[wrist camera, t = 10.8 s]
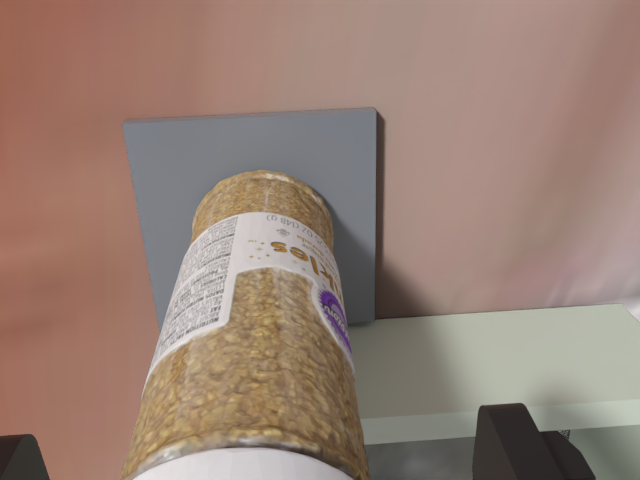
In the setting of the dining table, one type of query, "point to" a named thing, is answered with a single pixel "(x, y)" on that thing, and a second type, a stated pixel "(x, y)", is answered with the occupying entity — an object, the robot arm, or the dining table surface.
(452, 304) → the dining table surface
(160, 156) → the coaster
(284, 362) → the sprinkles bottle
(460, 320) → the crate
